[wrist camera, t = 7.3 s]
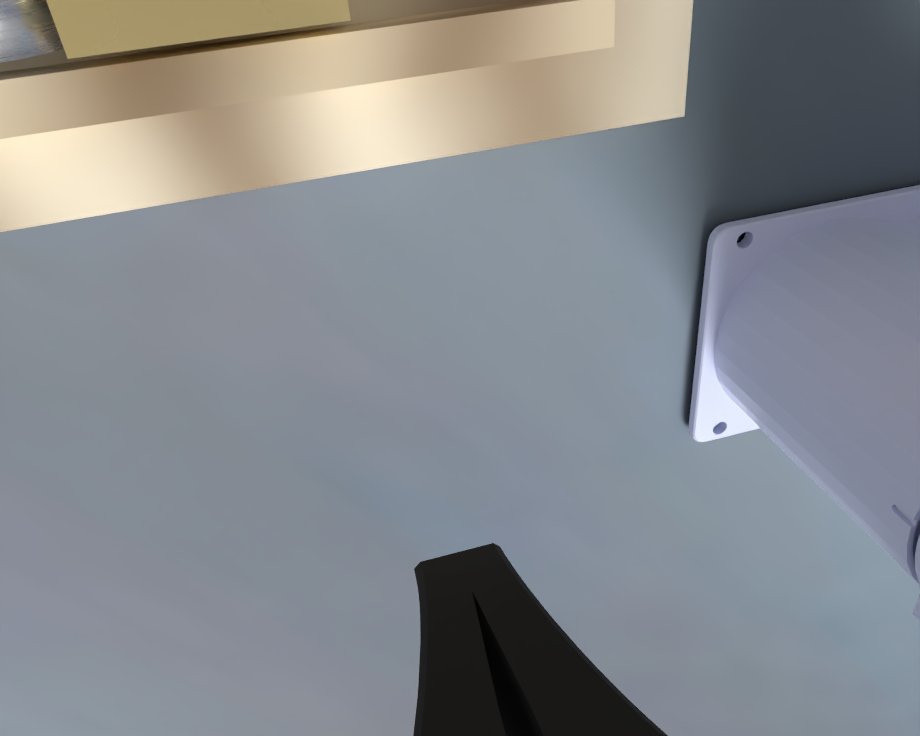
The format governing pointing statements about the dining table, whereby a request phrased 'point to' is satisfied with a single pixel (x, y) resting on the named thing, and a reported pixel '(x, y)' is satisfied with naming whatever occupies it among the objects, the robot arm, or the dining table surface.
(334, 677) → the dining table surface
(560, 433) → the dining table surface
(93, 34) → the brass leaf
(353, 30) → the jig board
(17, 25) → the panel
